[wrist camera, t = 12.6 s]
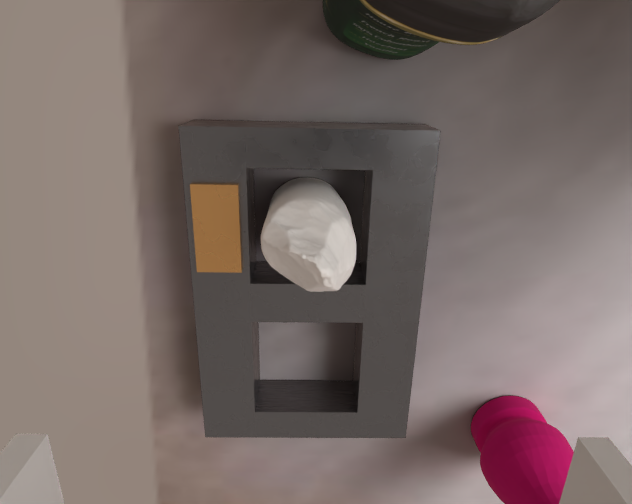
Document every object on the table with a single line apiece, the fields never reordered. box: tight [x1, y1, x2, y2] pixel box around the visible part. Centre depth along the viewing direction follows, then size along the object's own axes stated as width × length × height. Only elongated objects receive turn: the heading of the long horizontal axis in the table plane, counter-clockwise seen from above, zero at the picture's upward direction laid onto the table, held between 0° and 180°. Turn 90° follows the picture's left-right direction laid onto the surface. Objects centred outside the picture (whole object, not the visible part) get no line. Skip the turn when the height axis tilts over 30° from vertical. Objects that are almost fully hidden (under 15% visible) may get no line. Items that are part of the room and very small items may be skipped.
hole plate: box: [179, 120, 441, 438], centre depth 34 cm, size 16×24×4 cm, turn 179°
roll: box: [261, 177, 356, 292], centre depth 28 cm, size 6×12×6 cm
